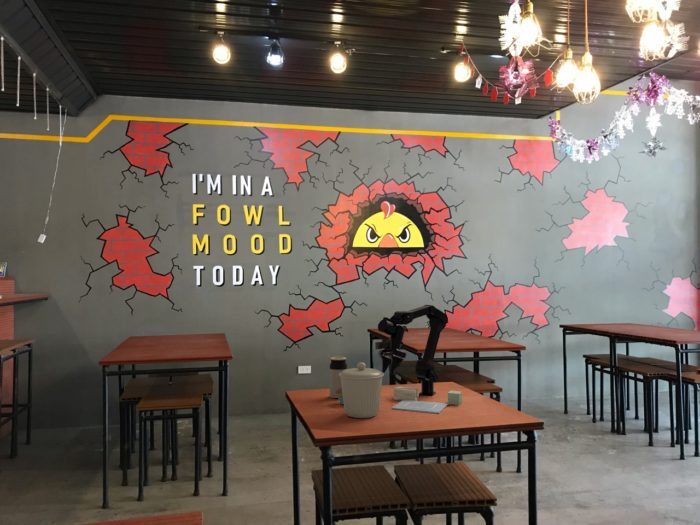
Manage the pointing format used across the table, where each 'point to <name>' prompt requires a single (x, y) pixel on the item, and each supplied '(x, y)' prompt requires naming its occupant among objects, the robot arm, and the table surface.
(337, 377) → the travel mug
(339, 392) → the cupcake
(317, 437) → the table surface
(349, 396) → the canister
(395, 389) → the birch brick
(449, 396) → the sage cube
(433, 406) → the board
